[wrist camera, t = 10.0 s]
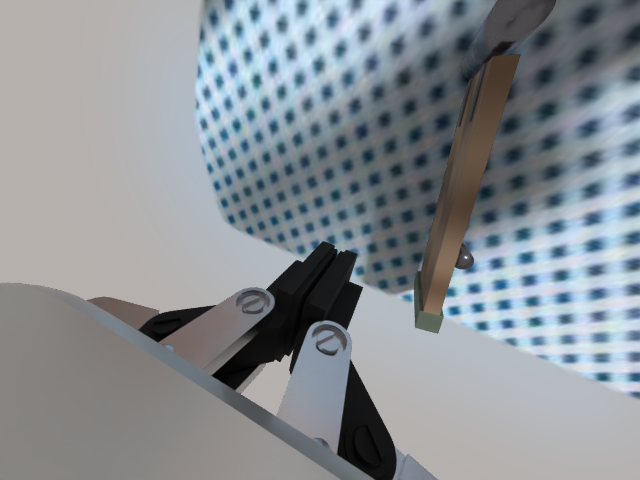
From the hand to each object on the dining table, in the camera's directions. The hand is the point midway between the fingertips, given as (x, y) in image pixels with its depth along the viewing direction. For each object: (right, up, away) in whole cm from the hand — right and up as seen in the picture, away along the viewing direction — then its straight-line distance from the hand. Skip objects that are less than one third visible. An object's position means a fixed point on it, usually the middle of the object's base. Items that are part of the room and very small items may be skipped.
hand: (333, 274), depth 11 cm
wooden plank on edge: (+11, +5, +11) cm, 16 cm away
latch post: (+13, +2, +13) cm, 18 cm away
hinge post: (+12, +16, +8) cm, 21 cm away
